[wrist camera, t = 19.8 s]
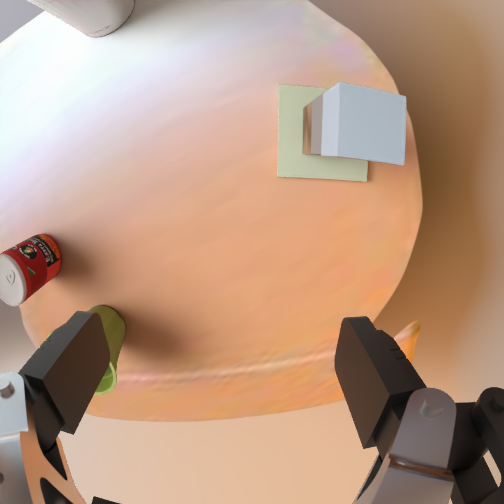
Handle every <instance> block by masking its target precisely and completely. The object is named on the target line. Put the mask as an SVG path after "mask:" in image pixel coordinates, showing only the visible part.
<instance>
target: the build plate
mask: <svg viewBox="0 0 504 504" xmlns="http://www.w3.org/2000/svg"><path fill="white" fill-rule="evenodd" d="M328 90H329V89H326V88H317V87H307V86H296V85H281V84H279V86H278V153H277V176H278V177H301V178H321V179H337V180H351V181H363V182H367V170H368V161H364V160H357V159H349V158H340V157H330V156H321V155H309V154H302V147H303V108H304V107H305V106H306V105H308V104H309V103H310V102H312V101H313V100H314V99H316V98H317V97H318V96H320V95H321V94H322V93H324V92H326V91H328Z"/></svg>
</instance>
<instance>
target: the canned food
mask: <svg viewBox="0 0 504 504" xmlns="http://www.w3.org/2000/svg"><path fill="white" fill-rule="evenodd" d="M61 263H62V258H61V252H60V249H59V247H58V245H57V243H56V242H55V241H54V240H53V239H52V238H51V237H50V236H48V235H45V234H38V235H35V236H33V237H31V238H29V239H27V240H25V241H23V242H21V243H19V244H17V245H15V246H13V247H12V248H10V249H8V250H6V251H4V252H3V253H1V254H0V298H1V299H2V300H3V301H4V302H5V303H7V304H8V305H10V306H18V305H20V304H22V303H23V302H24V301H25V300H27V299H28V298H29V297H30V296H31V295H33V294H34V293H35V292H36V291H37V290H39V289H40V288H41V287H42V286H43V285H45V284H46V283H47V282H48V281H50V280H51V279H52V278H53V277H55V276H56V275H57V273H58V271H59V270H60V267H61Z"/></svg>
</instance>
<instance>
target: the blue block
mask: <svg viewBox="0 0 504 504" xmlns="http://www.w3.org/2000/svg"><path fill="white" fill-rule="evenodd" d="M405 141H406V96H402V95H398V94H395V93H391V92H386V91H382V90H378V89H374V88H369V87H364V86H359V85H354V84H349V83H343V82H339V83H337V84H336V85H335V86H333V87H332V88H330V89H329V90H328V91H326V92H325V93H323V117H322V144H321V156H330V157H340V158H349V159H357V160H364V161H372V162H379V163H387V164H396V165H403V166H404V159H405Z"/></svg>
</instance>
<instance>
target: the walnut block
mask: <svg viewBox="0 0 504 504" xmlns="http://www.w3.org/2000/svg"><path fill="white" fill-rule="evenodd" d="M311 129H312V102H310V103H309V104H308V105H306V106H305V107H304V108H303V147H302V154H309V155H319V154H311Z"/></svg>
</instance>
